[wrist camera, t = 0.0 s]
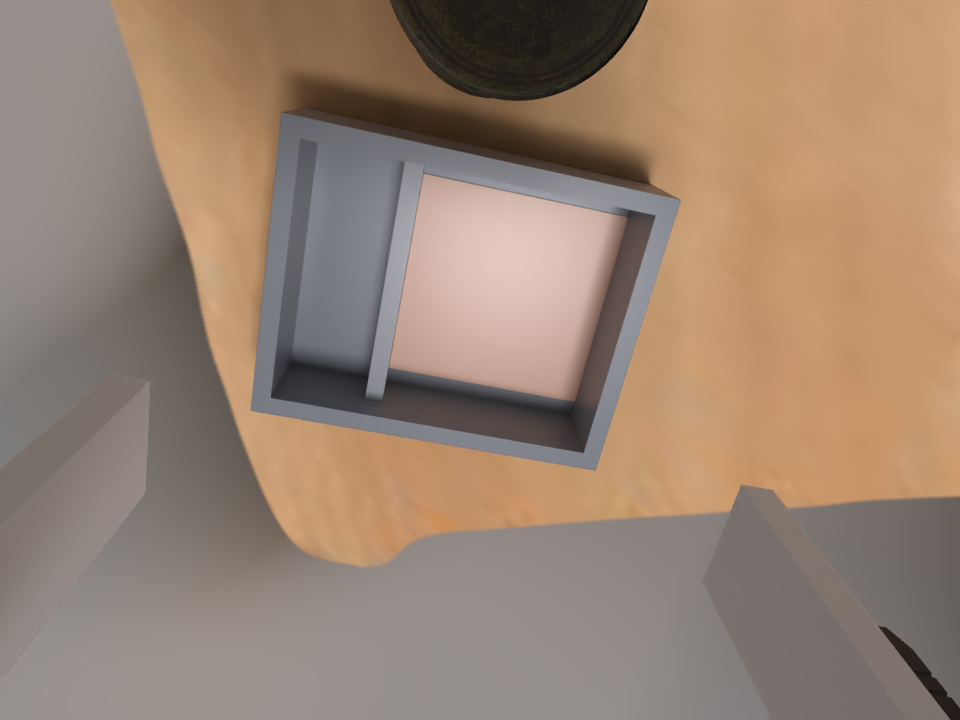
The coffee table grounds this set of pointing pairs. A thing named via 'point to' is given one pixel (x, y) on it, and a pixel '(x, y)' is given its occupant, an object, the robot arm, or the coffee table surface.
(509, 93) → the container
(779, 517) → the robot arm
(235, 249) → the coffee table surface
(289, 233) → the walled box
